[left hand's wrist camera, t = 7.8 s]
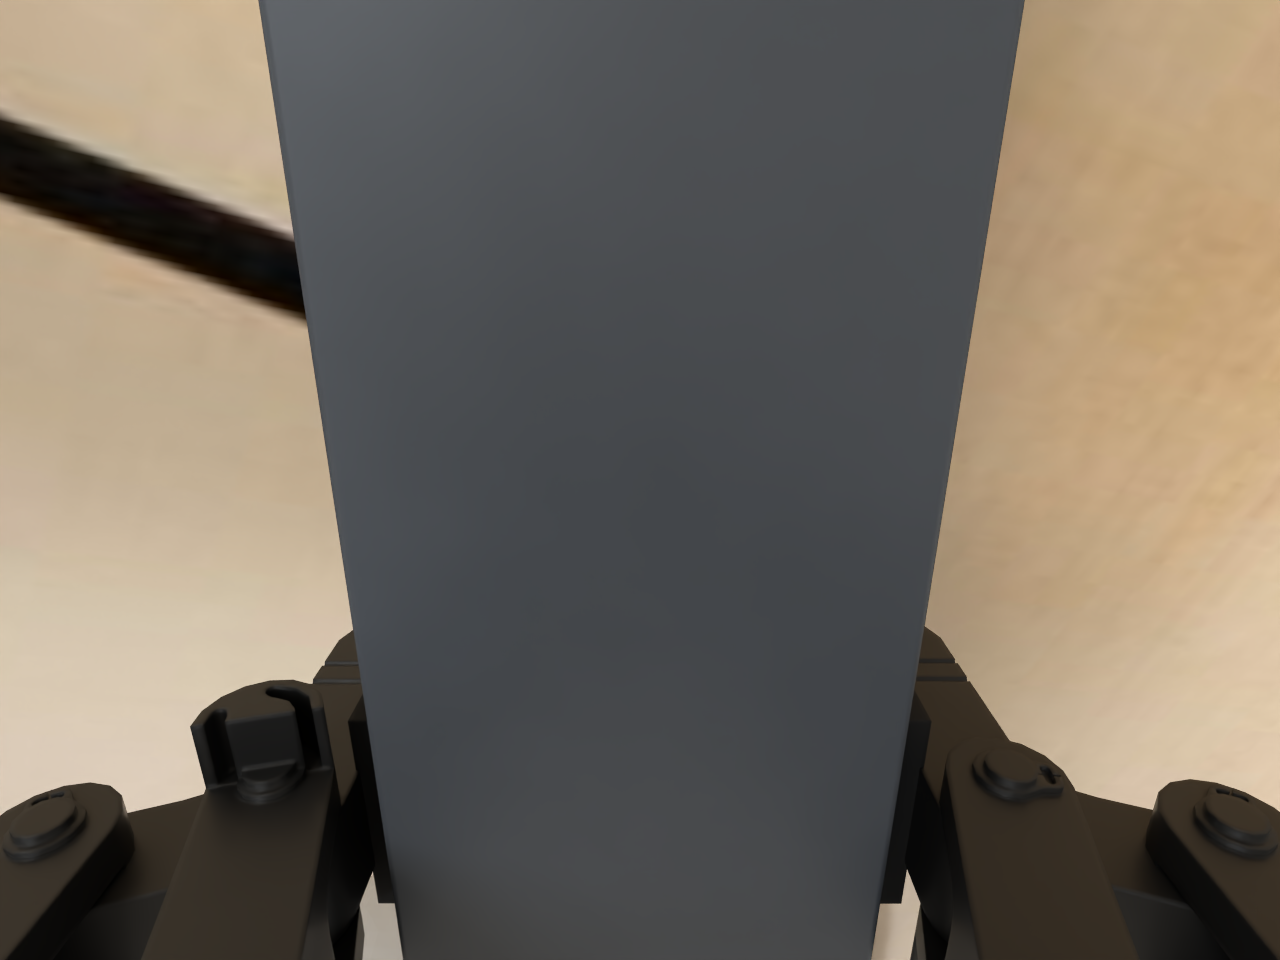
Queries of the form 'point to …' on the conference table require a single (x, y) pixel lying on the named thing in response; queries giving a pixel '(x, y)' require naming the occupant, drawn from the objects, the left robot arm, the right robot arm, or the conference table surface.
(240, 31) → the conference table surface
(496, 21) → the beam
